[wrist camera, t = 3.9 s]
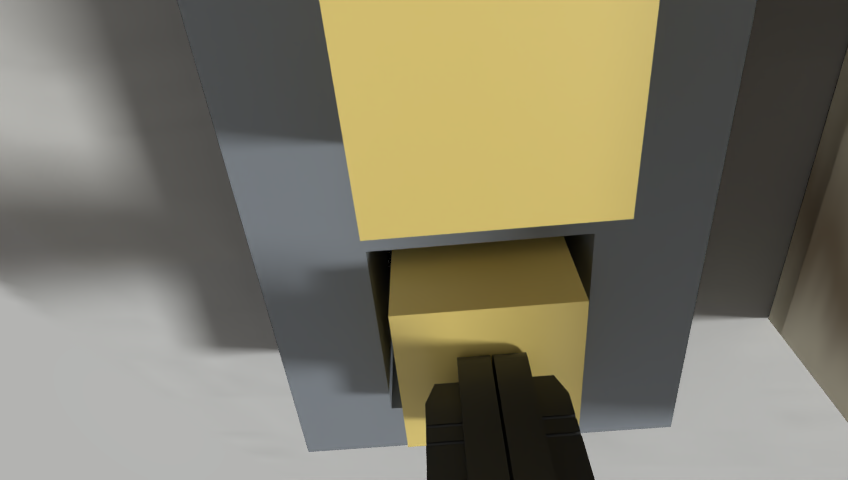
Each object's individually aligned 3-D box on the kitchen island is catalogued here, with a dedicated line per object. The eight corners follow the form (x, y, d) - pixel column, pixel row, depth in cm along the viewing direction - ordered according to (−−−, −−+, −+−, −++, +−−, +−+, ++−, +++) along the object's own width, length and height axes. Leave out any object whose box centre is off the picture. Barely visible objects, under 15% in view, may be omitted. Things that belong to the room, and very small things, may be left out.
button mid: (349, -93, 11) (309, -60, 7) (570, -114, 11) (671, -95, 7) (377, 116, 13) (360, 241, 9) (561, 100, 13) (633, 219, 9)
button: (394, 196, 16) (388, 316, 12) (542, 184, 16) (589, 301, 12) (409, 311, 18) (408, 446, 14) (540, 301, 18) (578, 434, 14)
